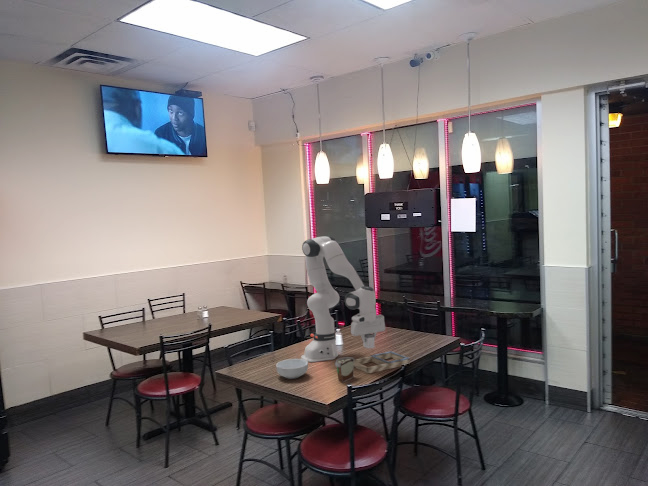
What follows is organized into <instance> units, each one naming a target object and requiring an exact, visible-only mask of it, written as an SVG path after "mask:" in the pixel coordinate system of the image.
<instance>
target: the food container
mask: <svg viewBox="0 0 648 486" xmlns="http://www.w3.org/2000/svg"><path fill="white" fill-rule="evenodd" d="M335 360H336V361H335V363H334V365H335V367H336V371H337V378H338V379H337V380H338V382H339V383H345V382H347V381H348V380H351V379H353V378H354V372H355V371H354V370H355V369H354V368H355V367H354V360H355V357H353V356H352V357H350V356H349V357H347V356H346V357H339V358H337V359H335Z"/></svg>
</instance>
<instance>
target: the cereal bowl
mask: <svg viewBox="0 0 648 486" xmlns="http://www.w3.org/2000/svg"><path fill="white" fill-rule="evenodd" d="M275 367H276V372H277V374H278V375H279V376H281V377H282V378H285V379H290V380H291V379H294V380H295V379H298V378H300V377H302V376H303V375H305V374H306V373H307V372H308V369H309V362H307V361H306V360H303V359H301V358H287V359H284V360H280V361H278V362H277V363H276V365H275Z"/></svg>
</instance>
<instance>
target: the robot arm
mask: <svg viewBox="0 0 648 486" xmlns="http://www.w3.org/2000/svg"><path fill="white" fill-rule="evenodd" d="M301 246H302V247H301V249H302V254H303V255H304V257H305V258H304V259H305V269H306V272H307V277H308V281H309V284H310V285H311V286H312V287H313V288H314V289H315V291H316V293H315V292H314V293H313V294H312V295H310V296H309V297H308V299H307V301H306V304H307V308H308V309H309V311H311V312H312V314H313V317H314V322H315V334H314V333H311V334H310V337H311V338H313V339H312V340H311V341H310V343H308V344H307V345H306V346H305V348H304V352H303V354H302V355H300V359H303V360H306V361H307V362H308V363H315V362H322V361H323V362H324V361H330V360H336V358H337V357H338V356H339V353H338V350H337V345H336V331H335V319H334V318H333V317H332V316H331V314H330V309H332V308H334V307H335V306H337V304H339V303H340V294H339V293H338V291H337V290H335V289H334V288H333V286H332V284H331V282H330V280H329V277H328V274H327V270H326V266H325V262H324V259H325V261H326V264H327V266H328V268H329V270H330V271H331V272H332V273H333V274H336V275H340V276H342V277H345V278H346V279H348V280H349V282H350V283H351V285H352V286H353V288H354V289H355V290H354V291H351V292H348V293H347V294H345V296H344V304H345V306H346V307H347V308H348V309H349V310H356V309H358V310H359V313H357V314H355V315H353V316H352V317H351V321H352V322H351V323H350V334H351V335H352V336H354V337H357V336H360V338H361V340H362V342H366V339H365V338H364V336H365V334H373V335H374V342H375V341H376V336H377V333H381V332H385V330H386V323H385V316H384V315H383V314H377V309H376V304H377V303H376V301H377V299H376V292H375V289H374V288H373V287H372V286H368V285H366V284H365V283H364V281H363V280H362V277H361V276H360V275H359V273H358V270H356V268H355V267H354V266H353V265H352V264H351V263H350V262H349V259H348V258H347V256H346V255H345V253H344V251H343V250H342V248H341V246H340V245H339V243H338V242H337V241H336V239H335V238H334V237H333V236H331V235H325V236H317V237H314V238H309V239H306V240H305V241H303V243H302V245H301Z"/></svg>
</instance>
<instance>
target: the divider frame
mask: <svg viewBox="0 0 648 486" xmlns="http://www.w3.org/2000/svg"><path fill="white" fill-rule="evenodd" d="M387 359H393V360H391V361H390V360H389V361H388V360H387ZM368 363H369V364H370V363H374V364H376V365H371V366H366V365H364V364H368ZM407 363H409V364H410V357H408V356H405V355H403V354H399V353H397V352H396V351H395V352H394V351H386V352H380V353H376V354H370V356H366V357H360V358H354V368H356V369H357V370H359V371H362V372H363V373H365V374H372V373H378V372H382V371H385V370H390V369H395V368H400V367H402V366H401V365H403V364H407Z"/></svg>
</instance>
